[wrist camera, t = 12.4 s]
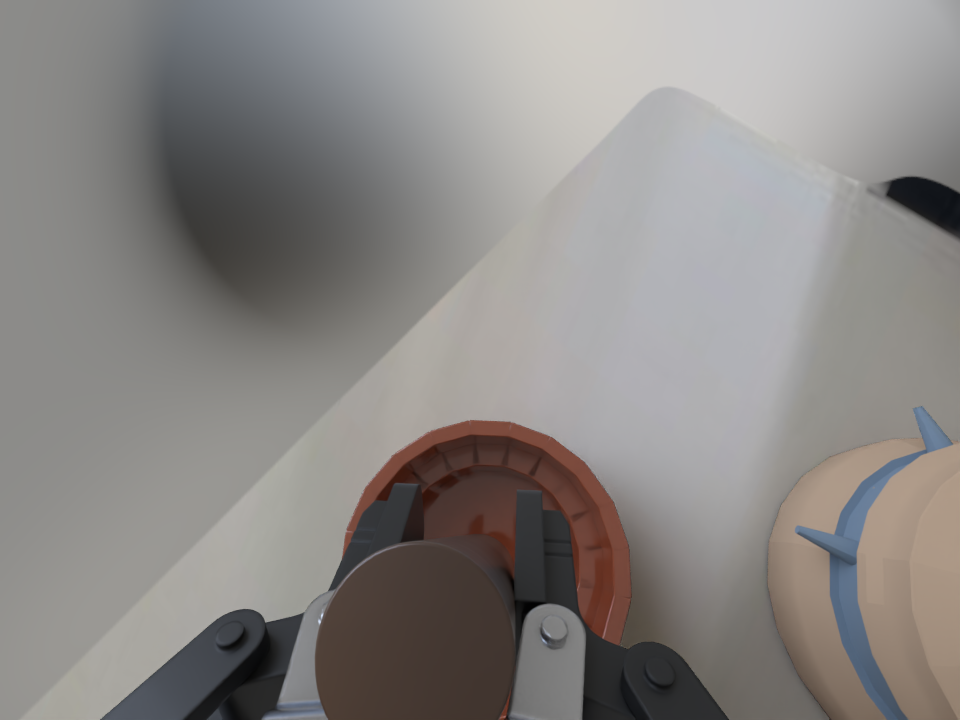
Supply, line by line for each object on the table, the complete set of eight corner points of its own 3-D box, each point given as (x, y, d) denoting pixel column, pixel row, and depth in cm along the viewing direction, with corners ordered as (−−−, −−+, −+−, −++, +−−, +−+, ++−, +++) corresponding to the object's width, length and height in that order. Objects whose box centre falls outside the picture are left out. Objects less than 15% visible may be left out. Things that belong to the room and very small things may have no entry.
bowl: (359, 681, 26) (317, 723, 20) (389, 436, 30) (362, 415, 25) (610, 703, 25) (639, 754, 19) (602, 445, 29) (624, 426, 24)
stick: (438, 612, 17) (295, 766, 6) (444, 531, 18) (331, 535, 7) (514, 617, 17) (512, 788, 6) (516, 536, 18) (518, 547, 7)
